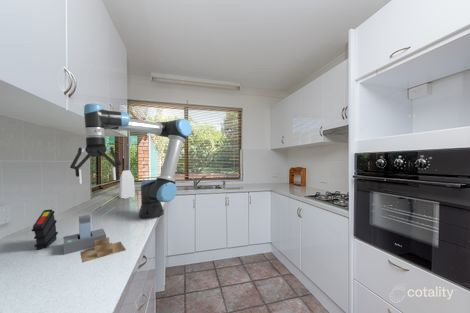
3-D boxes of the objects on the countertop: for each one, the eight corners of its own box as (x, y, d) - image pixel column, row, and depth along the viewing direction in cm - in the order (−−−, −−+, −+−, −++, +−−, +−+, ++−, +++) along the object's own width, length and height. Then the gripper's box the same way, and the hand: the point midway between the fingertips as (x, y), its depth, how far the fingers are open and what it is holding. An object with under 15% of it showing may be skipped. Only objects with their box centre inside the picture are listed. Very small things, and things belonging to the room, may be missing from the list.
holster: (120, 243, 90) (120, 233, 90) (126, 252, 81) (126, 241, 81) (80, 254, 81) (80, 242, 81) (82, 265, 72) (82, 252, 72)
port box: (103, 239, 95) (102, 228, 95) (106, 246, 88) (106, 234, 88) (63, 248, 86) (63, 236, 86) (63, 257, 79) (63, 243, 79)
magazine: (60, 233, 100) (53, 208, 94) (49, 256, 89) (40, 229, 83) (50, 234, 99) (43, 209, 93) (38, 257, 87) (28, 231, 81)
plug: (89, 242, 90) (89, 214, 90) (91, 245, 86) (90, 217, 86) (79, 244, 88) (78, 216, 88) (80, 248, 84) (79, 219, 84)
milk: (132, 195, 209) (131, 169, 209) (135, 197, 200) (134, 170, 200) (119, 197, 202) (118, 170, 201) (121, 198, 192) (120, 171, 192)
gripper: (61, 136, 87) (64, 186, 87) (126, 136, 103) (128, 178, 104) (60, 137, 92) (64, 184, 93) (122, 138, 109) (124, 177, 109)
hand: (98, 181), depth 98 cm, fingers open, 13 cm apart
